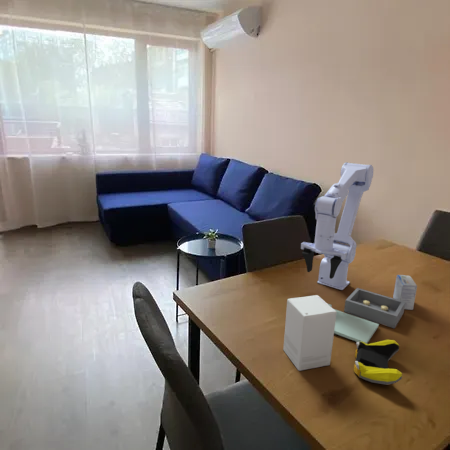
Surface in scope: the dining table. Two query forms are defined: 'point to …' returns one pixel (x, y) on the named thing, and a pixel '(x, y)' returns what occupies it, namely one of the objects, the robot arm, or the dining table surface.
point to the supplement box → (309, 332)
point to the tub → (375, 307)
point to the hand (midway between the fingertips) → (320, 274)
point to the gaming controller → (376, 362)
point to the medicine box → (405, 290)
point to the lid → (354, 327)
